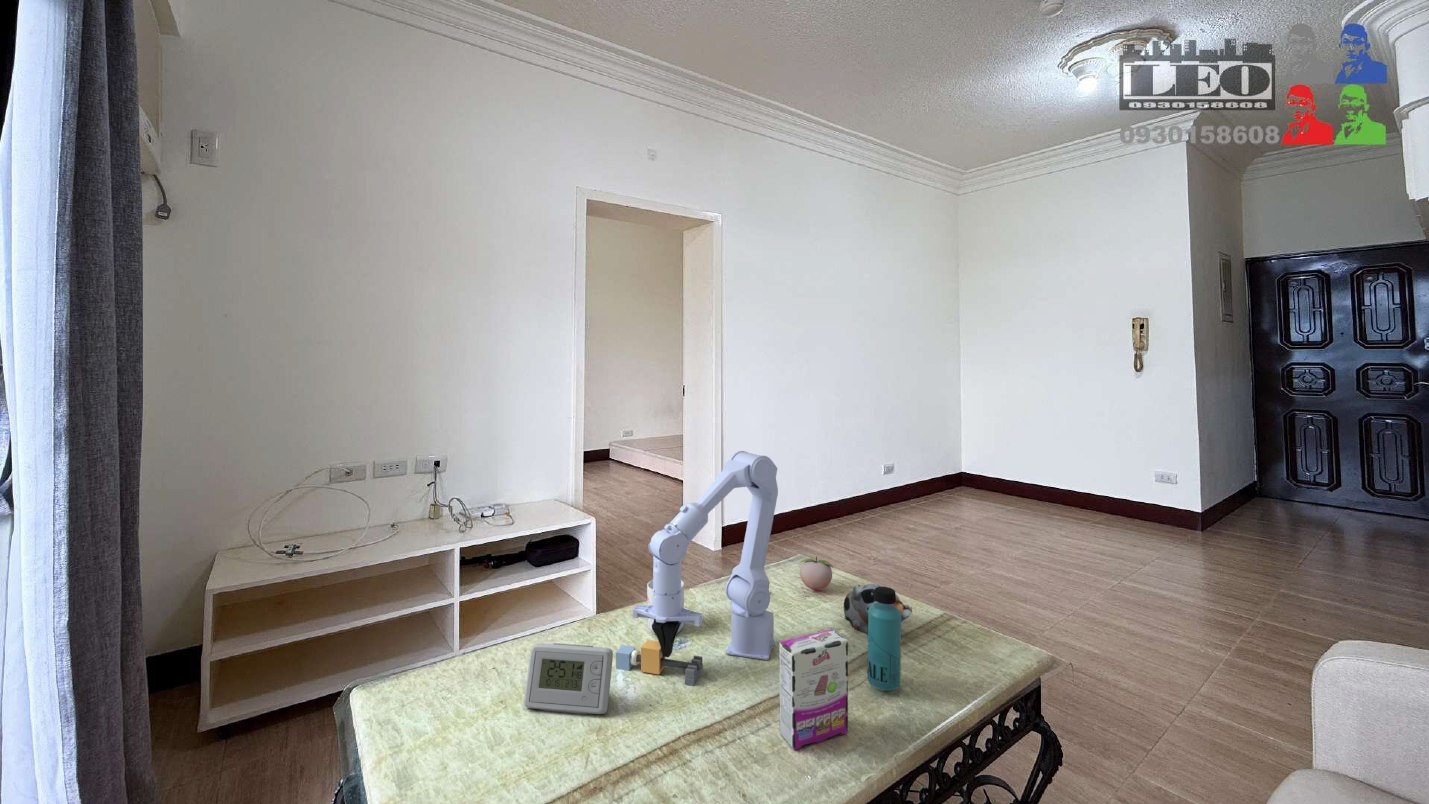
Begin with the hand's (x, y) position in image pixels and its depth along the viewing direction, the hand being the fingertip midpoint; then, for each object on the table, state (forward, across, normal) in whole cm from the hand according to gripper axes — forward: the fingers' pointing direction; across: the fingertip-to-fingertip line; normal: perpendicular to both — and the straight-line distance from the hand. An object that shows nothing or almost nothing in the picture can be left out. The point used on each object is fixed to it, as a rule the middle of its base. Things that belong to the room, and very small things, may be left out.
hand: (667, 654), depth 110 cm
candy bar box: (+4, +31, -11) cm, 33 cm away
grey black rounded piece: (+4, +42, +33) cm, 54 cm away
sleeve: (+4, -3, 0) cm, 5 cm away
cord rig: (+4, -1, 0) cm, 4 cm away
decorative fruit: (+4, +26, +51) cm, 57 cm away
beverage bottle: (+4, +43, +6) cm, 43 cm away
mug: (+4, -8, +19) cm, 21 cm away
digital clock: (+4, -14, -15) cm, 21 cm away
